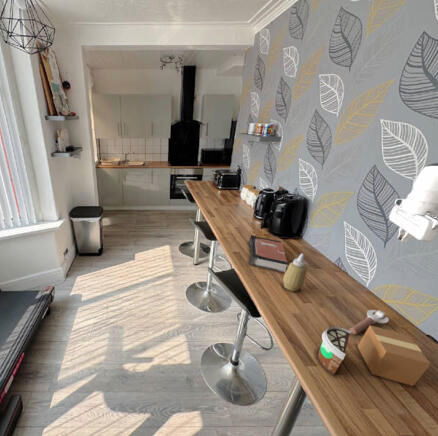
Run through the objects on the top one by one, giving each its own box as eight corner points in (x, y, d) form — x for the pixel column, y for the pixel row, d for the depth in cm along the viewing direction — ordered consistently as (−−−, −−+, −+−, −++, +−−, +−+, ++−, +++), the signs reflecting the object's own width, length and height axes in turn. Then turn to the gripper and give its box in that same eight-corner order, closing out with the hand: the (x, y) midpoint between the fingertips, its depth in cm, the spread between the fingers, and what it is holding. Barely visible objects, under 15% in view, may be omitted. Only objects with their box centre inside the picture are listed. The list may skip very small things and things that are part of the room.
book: (287, 273, 118) (290, 264, 116) (250, 264, 123) (252, 256, 121) (280, 248, 140) (282, 240, 138) (249, 242, 146) (251, 235, 144)
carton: (393, 356, 78) (408, 334, 73) (413, 386, 69) (431, 363, 65) (357, 346, 81) (369, 325, 76) (371, 373, 72) (386, 351, 68)
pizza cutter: (360, 342, 83) (363, 336, 82) (341, 328, 88) (344, 323, 87) (389, 322, 91) (393, 316, 90) (370, 311, 96) (374, 305, 95)
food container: (318, 340, 82) (328, 319, 78) (340, 352, 78) (351, 330, 74) (309, 363, 74) (319, 341, 70) (332, 377, 70) (345, 355, 66)
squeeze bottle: (300, 296, 103) (313, 261, 95) (280, 288, 107) (291, 255, 99) (301, 285, 109) (313, 252, 102) (281, 279, 113) (292, 247, 106)
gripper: (454, 219, 75) (431, 256, 81) (413, 200, 93) (396, 231, 99) (428, 216, 77) (408, 252, 83) (393, 198, 95) (378, 228, 100)
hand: (401, 240), depth 91 cm, fingers closed
